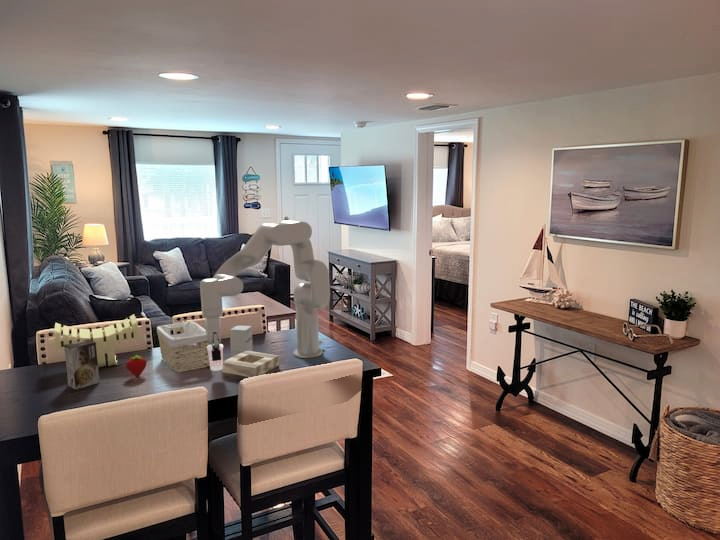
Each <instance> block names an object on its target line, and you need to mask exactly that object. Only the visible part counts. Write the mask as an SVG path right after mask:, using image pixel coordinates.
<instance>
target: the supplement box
mask: <svg viewBox="0 0 720 540" xmlns="http://www.w3.org/2000/svg"><path fill="white" fill-rule="evenodd" d="M229 337H230V339H229V341H230V358H231V357H233V356H236V355H238V354H240V353H242V352H244V351H246V350H247V351H253V348H254V347H253V326H252V325H236V326H233V327H232V328H230V329H229ZM253 352H254V351H253Z"/></svg>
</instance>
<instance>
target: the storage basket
mask: <svg viewBox="0 0 720 540" xmlns="http://www.w3.org/2000/svg"><path fill="white" fill-rule="evenodd" d="M182 329H183V332H181V333H175V334H174V333H173V334H172V333H171V332H172V331H177V330H182ZM156 333H157V336H158V341H159V342H158V343H159V347H160V348H159V349H160V354H161V358H162V360H163V361H164V362H165V363H166V364H167V366H168V367H170V369H171V370H172V371H173V372H175V373H184V372H188V371H193V370H199V369H202V368H203V369H204V368H207V367H210V362H209V355H208V350H207V346H208V345H211V343H210V344H208V343H207V339H206V328H204V327H202V326H201V325H200V324H199V323H197V322H195V321H192V320H191V321H184V322H183V321H182V322H175V323H170V324H164V325H158V326H157V327H156Z"/></svg>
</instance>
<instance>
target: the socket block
mask: <svg viewBox="0 0 720 540" xmlns="http://www.w3.org/2000/svg"><path fill="white" fill-rule="evenodd" d="M278 370H280V355H278V354H277V355H276V354H272V353H265V352H258V351H247V350H246V351H244V352H242V353H240V354H238V355H236V356H233V357H231V356H230V357H229V358H227V359H225V360H223V369H222V370H221V376H222V375H223V377H227V376H228V377H227V378H232V377H235V378H234V379H237V378H239V380H243V379H244V378H248V377H253V376H258V375H262V374H268V373H271V374H272V373H274V372H277V371H278ZM273 371H274V372H273Z"/></svg>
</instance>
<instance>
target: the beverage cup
mask: <svg viewBox="0 0 720 540" xmlns="http://www.w3.org/2000/svg"><path fill="white" fill-rule="evenodd" d="M219 345H220V350H221V360H218V361H212V344H211V343H210V345H208V346H207V350H208V355H209V362H210V365H209V368H210V369H209V370H210V371H213V372H217V371H222V369H223V361H224V353H223V352H224V351H223V350H224V344H222V343H219ZM213 346H214V344H213Z"/></svg>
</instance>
